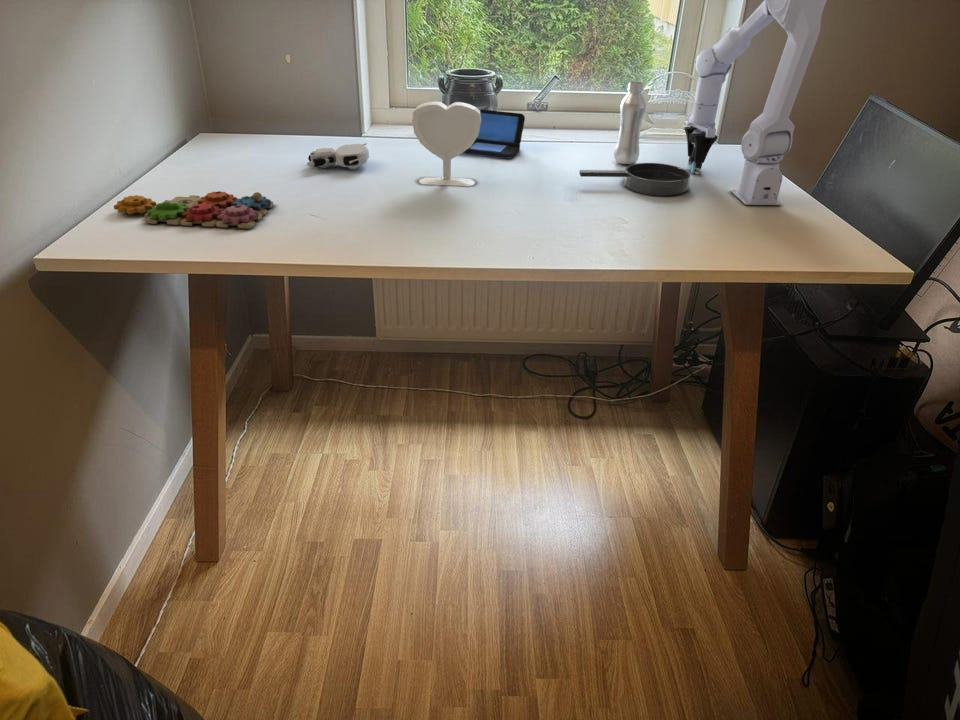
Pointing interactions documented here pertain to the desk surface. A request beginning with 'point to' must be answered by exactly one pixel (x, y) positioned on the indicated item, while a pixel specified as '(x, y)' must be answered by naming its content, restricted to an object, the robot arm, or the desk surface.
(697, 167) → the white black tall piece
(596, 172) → the pan handle
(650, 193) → the pan
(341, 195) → the desk surface
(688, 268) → the desk surface
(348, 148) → the robot toy
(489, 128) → the game console
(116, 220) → the desk surface
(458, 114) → the heart sculpture
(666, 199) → the desk surface
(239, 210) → the gear puzzle
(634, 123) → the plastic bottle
